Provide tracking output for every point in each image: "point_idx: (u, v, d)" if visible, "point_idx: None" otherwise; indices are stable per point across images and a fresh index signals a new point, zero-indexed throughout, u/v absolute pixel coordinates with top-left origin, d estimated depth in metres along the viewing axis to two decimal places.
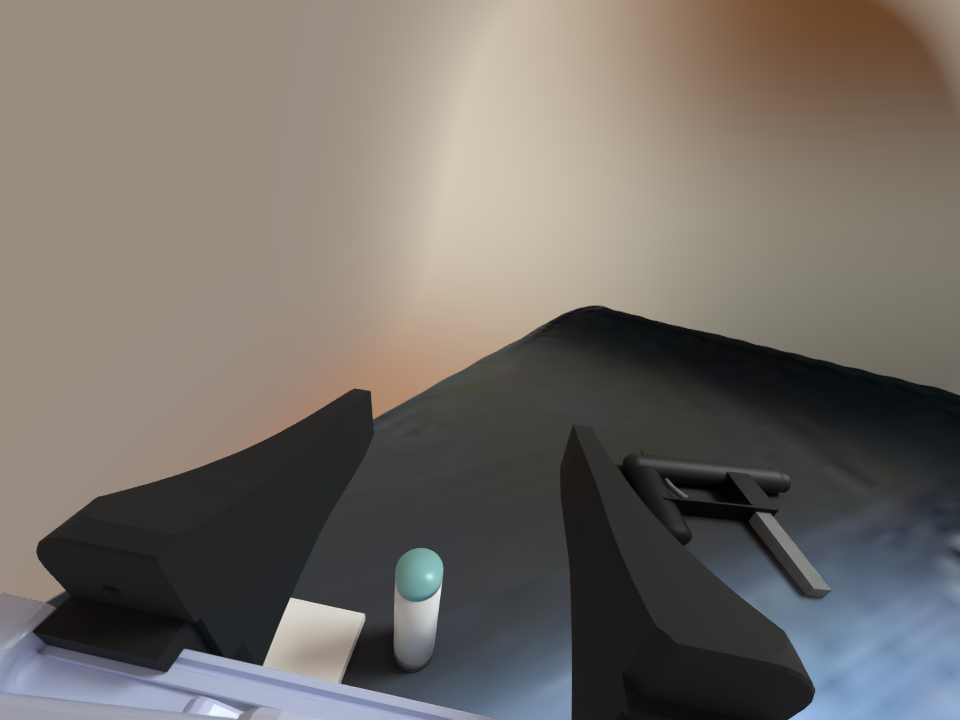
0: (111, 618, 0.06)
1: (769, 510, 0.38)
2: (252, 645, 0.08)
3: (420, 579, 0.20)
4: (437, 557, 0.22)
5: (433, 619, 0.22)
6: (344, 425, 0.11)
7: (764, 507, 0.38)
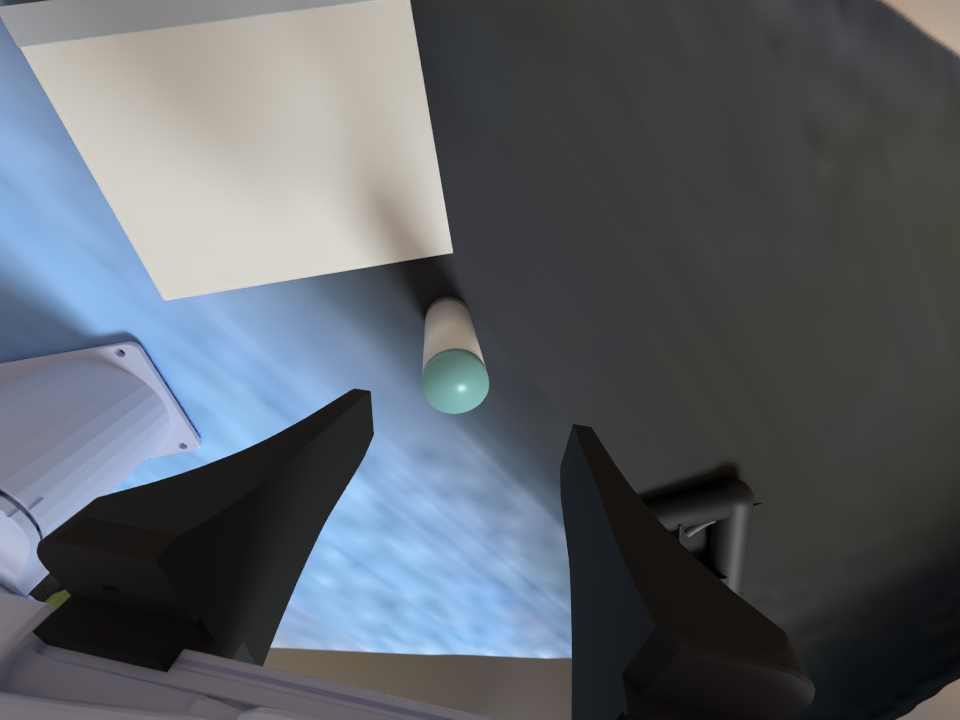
0: (111, 618, 0.06)
1: None
2: (252, 645, 0.08)
3: (444, 392, 0.15)
4: (481, 398, 0.15)
5: None
6: (344, 425, 0.11)
7: None
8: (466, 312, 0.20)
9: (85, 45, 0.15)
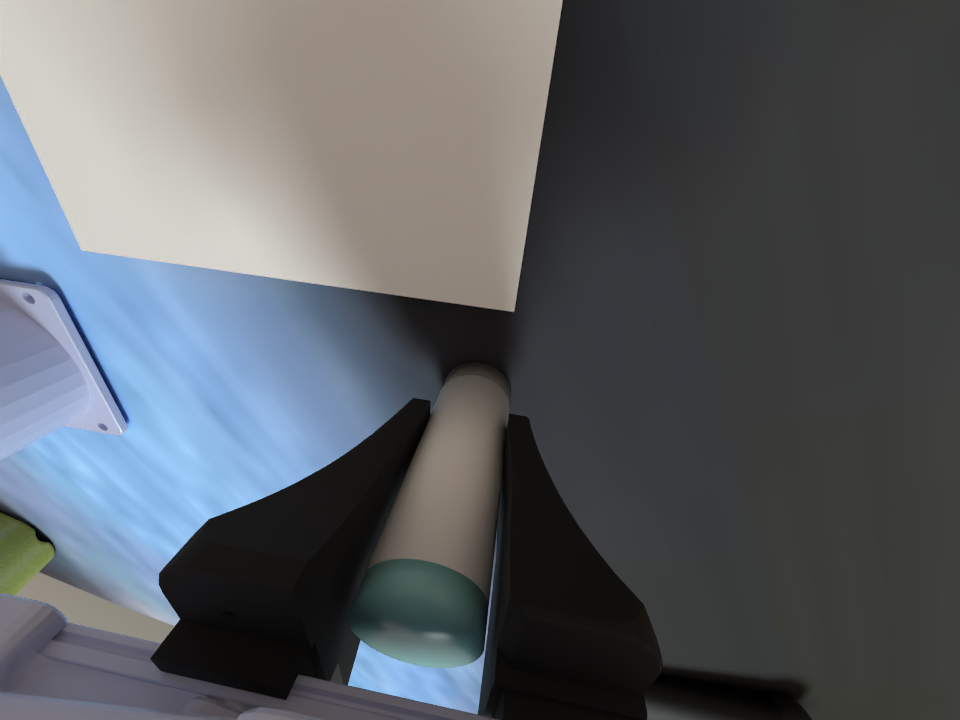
0: (226, 643, 0.06)
1: None
2: (343, 665, 0.08)
3: (389, 634, 0.07)
4: (460, 663, 0.07)
5: None
6: (412, 437, 0.10)
7: None
8: (503, 410, 0.12)
9: None
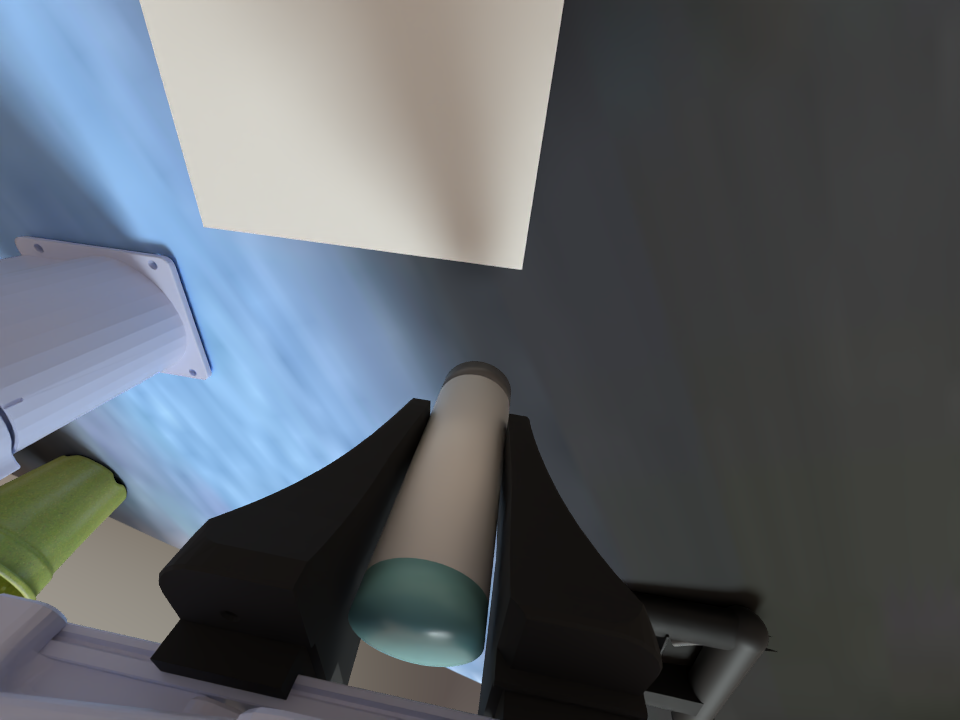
0: (226, 644, 0.06)
1: None
2: (343, 666, 0.08)
3: (390, 633, 0.07)
4: (460, 662, 0.07)
5: None
6: (412, 437, 0.10)
7: None
8: (503, 410, 0.12)
9: None
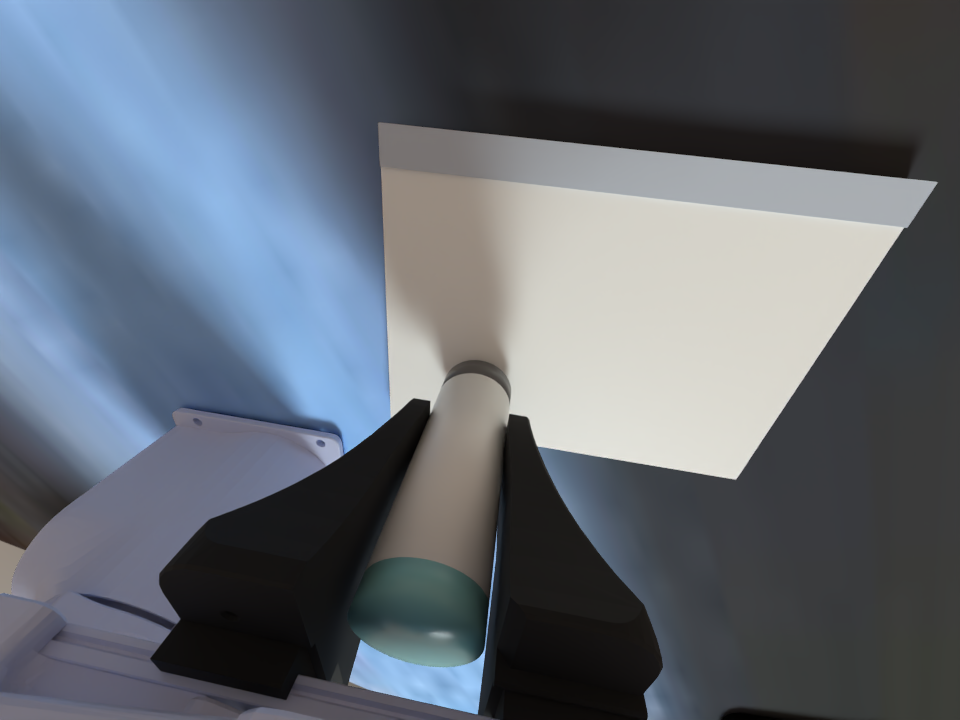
0: (226, 643, 0.06)
1: None
2: (343, 665, 0.08)
3: (389, 633, 0.07)
4: (460, 662, 0.07)
5: None
6: (412, 437, 0.10)
7: None
8: (503, 409, 0.12)
9: (454, 182, 0.11)
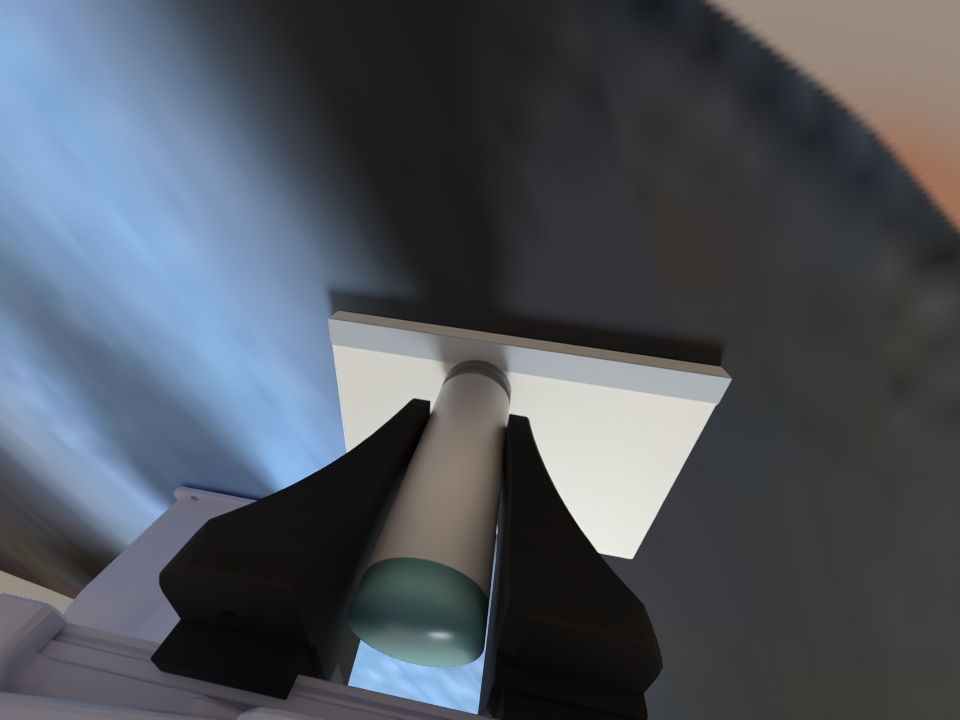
0: (226, 644, 0.06)
1: None
2: (343, 665, 0.08)
3: (389, 633, 0.07)
4: (460, 663, 0.07)
5: None
6: (412, 437, 0.10)
7: None
8: (503, 409, 0.12)
9: (387, 356, 0.15)
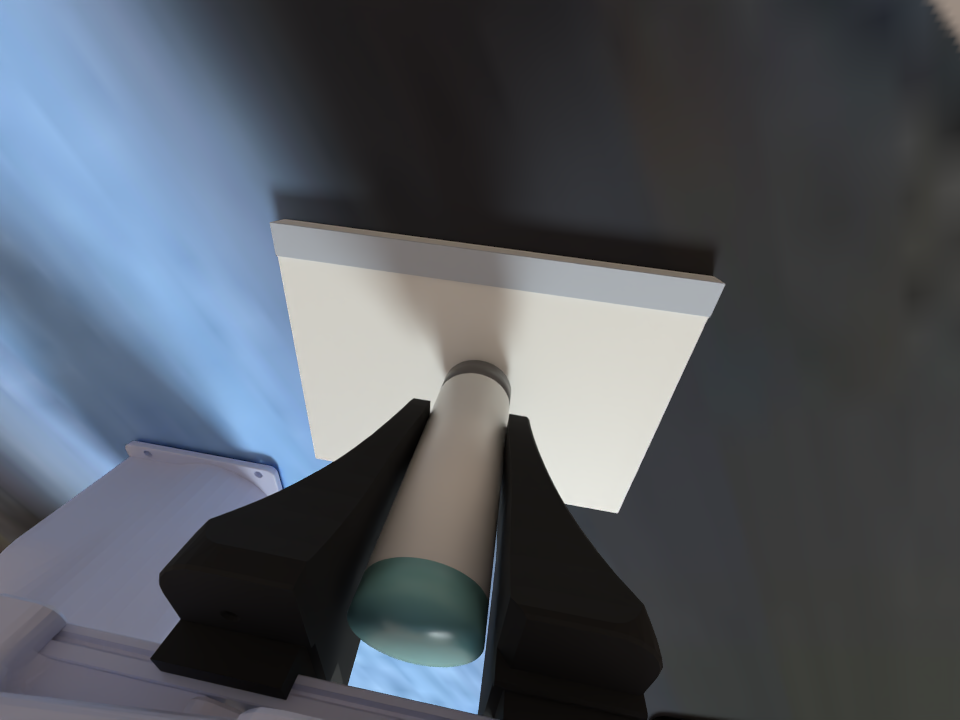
0: (226, 644, 0.06)
1: None
2: (343, 665, 0.08)
3: (389, 633, 0.07)
4: (460, 662, 0.07)
5: None
6: (412, 437, 0.10)
7: None
8: (503, 408, 0.12)
9: (339, 269, 0.13)
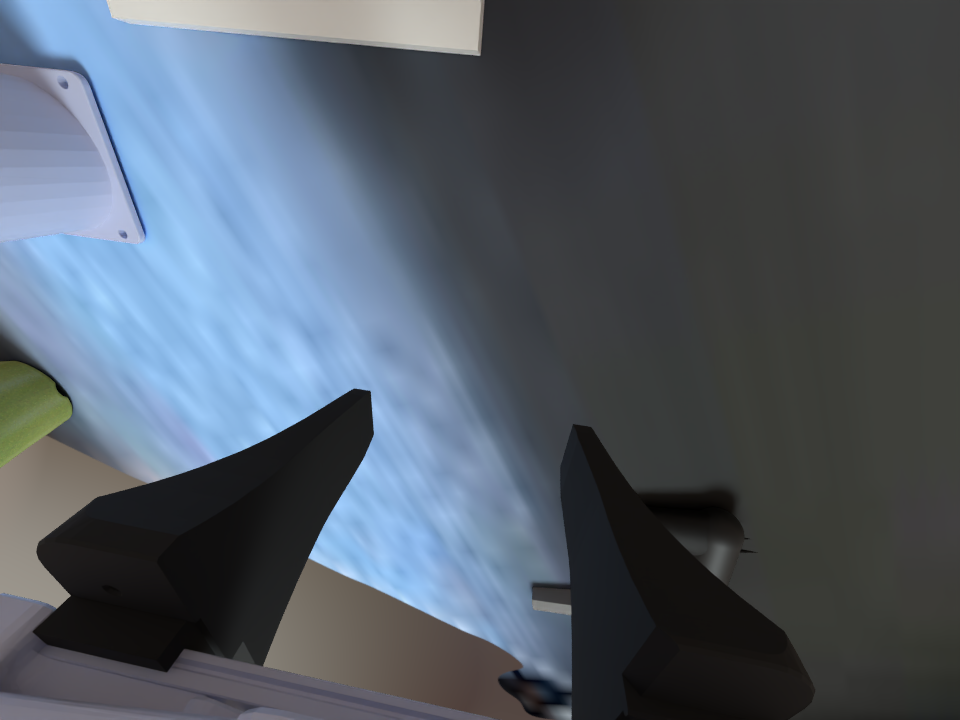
0: (111, 618, 0.06)
1: None
2: (252, 645, 0.08)
3: None
4: None
5: None
6: (344, 425, 0.11)
7: None
8: None
9: None
